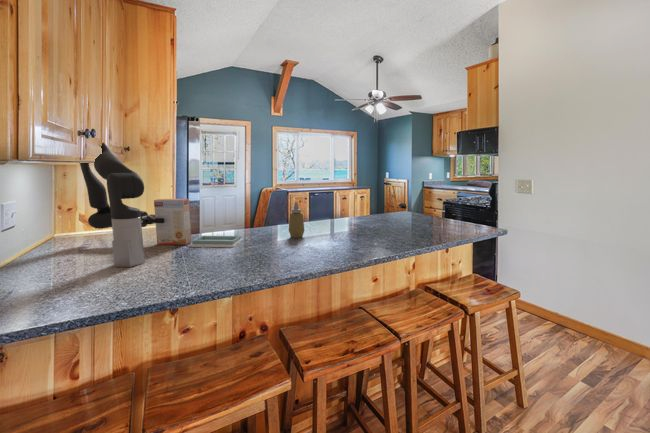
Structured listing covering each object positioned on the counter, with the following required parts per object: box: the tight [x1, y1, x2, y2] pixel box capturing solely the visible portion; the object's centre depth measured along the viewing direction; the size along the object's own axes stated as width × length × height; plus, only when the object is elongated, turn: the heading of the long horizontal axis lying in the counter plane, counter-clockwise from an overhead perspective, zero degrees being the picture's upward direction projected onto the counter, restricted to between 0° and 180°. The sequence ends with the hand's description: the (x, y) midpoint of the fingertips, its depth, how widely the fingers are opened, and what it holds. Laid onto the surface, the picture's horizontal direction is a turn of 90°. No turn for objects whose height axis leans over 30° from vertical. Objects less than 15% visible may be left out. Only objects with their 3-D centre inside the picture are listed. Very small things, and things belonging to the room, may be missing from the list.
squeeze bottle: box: [288, 201, 305, 239], centre depth 170 cm, size 8×8×18 cm
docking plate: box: [189, 235, 244, 248], centre depth 157 cm, size 14×20×2 cm
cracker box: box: [153, 198, 192, 246], centre depth 156 cm, size 14×6×21 cm, turn 84°
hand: (168, 219), depth 156 cm, fingers open, 8 cm apart
